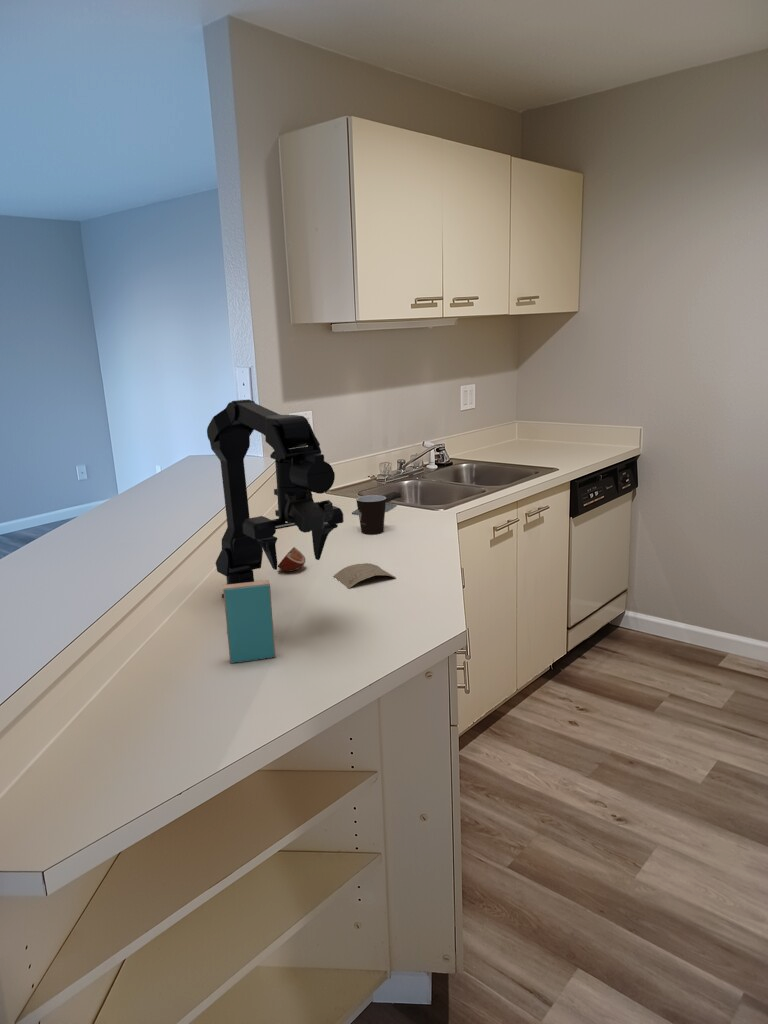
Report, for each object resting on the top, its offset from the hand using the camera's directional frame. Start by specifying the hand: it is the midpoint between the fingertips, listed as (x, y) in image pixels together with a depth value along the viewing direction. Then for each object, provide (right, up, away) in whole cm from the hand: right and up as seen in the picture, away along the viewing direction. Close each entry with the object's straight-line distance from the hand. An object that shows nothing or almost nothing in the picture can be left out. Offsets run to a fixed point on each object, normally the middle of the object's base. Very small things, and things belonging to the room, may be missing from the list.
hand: (296, 564), depth 138 cm
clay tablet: (+12, -6, +33) cm, 36 cm away
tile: (-7, -16, -8) cm, 19 cm away
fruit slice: (-6, -5, +40) cm, 41 cm away
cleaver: (+16, +11, +104) cm, 106 cm away
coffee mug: (+14, +4, +74) cm, 75 cm away
